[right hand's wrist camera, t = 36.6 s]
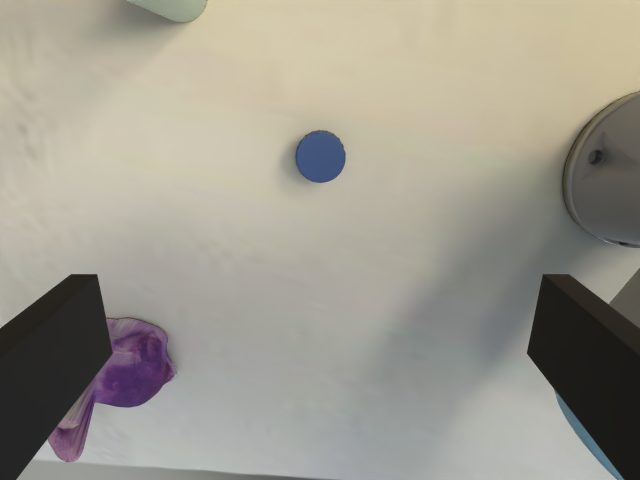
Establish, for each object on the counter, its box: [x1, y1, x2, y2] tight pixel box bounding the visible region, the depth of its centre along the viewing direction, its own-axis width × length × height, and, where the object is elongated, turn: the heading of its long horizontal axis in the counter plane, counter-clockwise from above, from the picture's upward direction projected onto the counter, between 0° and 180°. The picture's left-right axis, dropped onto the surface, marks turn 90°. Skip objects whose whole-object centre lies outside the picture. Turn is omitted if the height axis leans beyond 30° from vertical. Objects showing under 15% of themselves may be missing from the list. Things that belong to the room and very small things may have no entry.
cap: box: [296, 130, 346, 183], centre depth 40 cm, size 5×5×2 cm
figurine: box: [48, 318, 177, 462], centre depth 42 cm, size 9×10×15 cm
